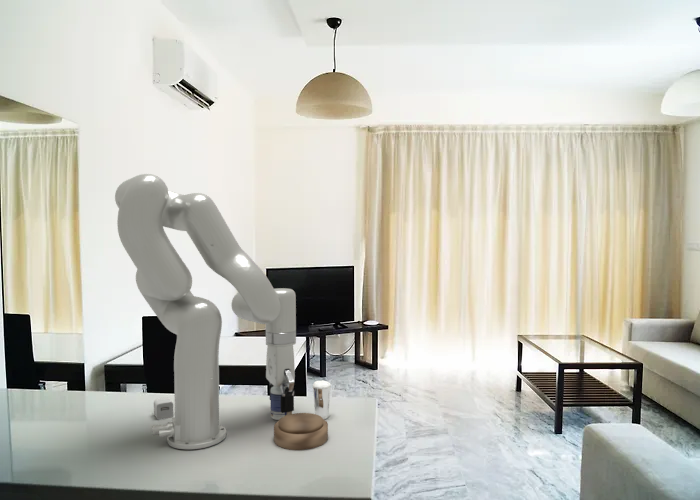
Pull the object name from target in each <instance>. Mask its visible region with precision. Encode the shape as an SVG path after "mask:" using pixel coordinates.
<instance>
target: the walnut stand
mask: <svg viewBox="0 0 700 500" xmlns="http://www.w3.org/2000/svg"><path fill="white" fill-rule="evenodd" d="M273 425H274V426H273V442H274V445H276V446H277V447H279V448H282V449H286V450H290V451H291V450H292V451H305V450H312V449H315V448H319V447H321V446H323V445H324V444H325V443H327V441H328V440H329V439H328V438H329V423H328V421H327V420H326V419H323V418H322V417H321V416H319V415H316V414H315V413H311V412H297V413H295V412H294V413H292V414H290V415H286V416H284V417H282V418H281V419H279V420H277V422H275V424H273Z"/></svg>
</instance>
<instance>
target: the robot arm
mask: <svg viewBox="0 0 700 500" xmlns="http://www.w3.org/2000/svg"><path fill="white" fill-rule="evenodd" d="M114 201H115V204H116V206H117V208H118V213H117V223H116V224H117V233H118V236H119V240H120V243H121V245H122V247H123V249H124V251H126V253H127V255H128V256H129V259H130V260H131V262H132V263H133V265H134V266H135V268H136V269H137V270H136V273H135V283H136V286H137V288H138V291H139V292H140V294H141V295H142V297H143V298H144V300H145V302H146V303H147V305H149V307H150V308H151V310H152V311H153V313H154V314H155V316H156V317H157V318H158V320H159V321H160V322H161V324H162V325H163V326H164V328H166V330H168V331H169V332H171V333H173V334H175V335H176V343H175V349H174V356H173V359H174V360H173V372H174V374H173V376H174V379H173V380H174V381H173V383H174V386H173V387H174V416H173V417H172V418H171V419H172V420H171V421H169V422H167V424H166V423H165V424H157V425H152V426H151V427H152V431H151V432H152V436H155V435H158V437H159V438H162V437H167V445H169V446H170V447H172V448H174V449H177V450H178V449H179V450H188V451H189V450H199V449H204V448H209V447H212V446H215V445H217V444H219V443H221V442H222V441H223V440H225V438H226V437H227V429H226V427H225V426H223V425H221V424H220V367H219V366H220V365H219V363H220V361H219V359H220V358H219V354H220V341H221V340H220V339H221V333H222V325H223V320H222V314H221V312H220V310H219V308H218V307H217V305H216V304H215V303H213V302H212V301H211V300H209V299H206V298H203V297H200V296H194V294H193V293H192V291H191V289H192V286H193V277H192V274H191V270H190V269H189V267H187V265H186V263H185V262H184V261H183V258H181V256H180V255H179V254H178V252H177V250H176V248H175V247H174V245H173V244H172V242H171V240H170V239H169V237H168V235H167V233H166V231H165V229H164V227H165V228H168V229H172V230H176V231H180V232H186V233H187V235H188V237H189V238H190V240H191V241H192V243H193V244H194V246H195V248H196V250H197V251H198V253H199V255H201V257H202V259H203V261H204V262H205V264H206V266H208V268H210V269H211V271H213V272H214V273H215V274H217V275H218V276H220V277H221V278H222V279H223V278H224V280H226V281H227V282H228V283H230V284H231V286H233V287H234V289H235V290H236V291H237V293H236V294H235V295H234V296H233V297H232V300H231V303H230V304H231V305H230V306H231V309H232V311H233V313H234V315H235V316H236V317H238V318H239V319H241V320H244V321H247V322H253V323H256V324H260V325H265V345H266V346H267V347H266V360H265V361H266V365H265V369H266V370H265V378H266V380H267V381H268V382H269V391H270V390H271V388H272V387H273V386H275V387H278V386H280V388H281V393H282V396H281V412H282V413H285V412H292V413H293V412H294V411H295V387H294V386H295V379H296V378H295V377H296V375H295V373H296V372H295V371H296V370H295V369H296V367H295V366H296V365H295V352H294V351H295V350H294V345H296V344H297V316H296V314H297V308H296V307H297V305H296V304H297V303H296V301H297V299H296V297H297V295H296V292H295V291H294V290H293V289H292V288H286V287H285V288H284V287H283V288H281V287H280V288H278V287H277V288H274V287H273V285H272V283H271V282H270V280H269V278H268V276H266V274H265V273H264V271H263V270H262V269H261V268H260V266H259V265H258V264H257V263H256V262H255V261H254V260H253V259H252V257H250V256H249V255H248V254H247V252H245V251H244V250H243V248H242V247H241V245H240V244H239V243H238V241H237V239H236V237H235V235H234V234H233V233H232V231H231V228H230V227H229V226H228V224H227V222H226V220H225V218H224V217H223V215H222V213H221V212H220V210H219V208H218V206H217V205H216V203H215V202H214V200H213V199H212V198H211V197H210V196H208V195H207V194H205V193H201V192H200V193H199V192H198V193H197V192H193V193H192V192H191V193H188V194H181V193H177V192H173V191H170V190H169V189H168V186H167V183H166V182H165V181H164V180H163V179H162V178H161V177H159V176H157V175H155V174H151V173H141V174H139V175H136V176H133V177H131V178H128V179H126V180H124V181H123V182H122V183H120V185H119V186H118V187H117V188H116V190H115V195H114ZM284 382H287V383H284ZM284 387H286V389H285V390H284ZM269 401H271V398H270V397H269Z"/></svg>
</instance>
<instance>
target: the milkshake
mask: <svg viewBox="0 0 700 500" xmlns="http://www.w3.org/2000/svg"><path fill="white" fill-rule="evenodd" d="M334 379H335V378H334V377H333V378H332V380H334ZM332 383H333V382H331V383H330V382H329V381H327V380H323V379H322V380H316V381H314V383H312V391H313V392H312V393H313V405H314V414H316V415H319V416H321V417H322V418H323V419H324V420H326V419H328V418H329V416H330V415H329V412H330V399H331V387H332Z"/></svg>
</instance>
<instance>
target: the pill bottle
mask: <svg viewBox="0 0 700 500" xmlns="http://www.w3.org/2000/svg"><path fill="white" fill-rule="evenodd" d="M284 383H287V382H284ZM285 389H286V387H284V390H285ZM281 396H282V393H281V388H280V386H278V387H275V386H273V387H272V388H271V390H270V389H269V399H270V398H271V400H270V418H271V419H272V420H275V421H276V420H277V421H279V419H281V418H282V417H284V416H286V415H290V414H293V411H292V412H285V413H282V412H281Z"/></svg>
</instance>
